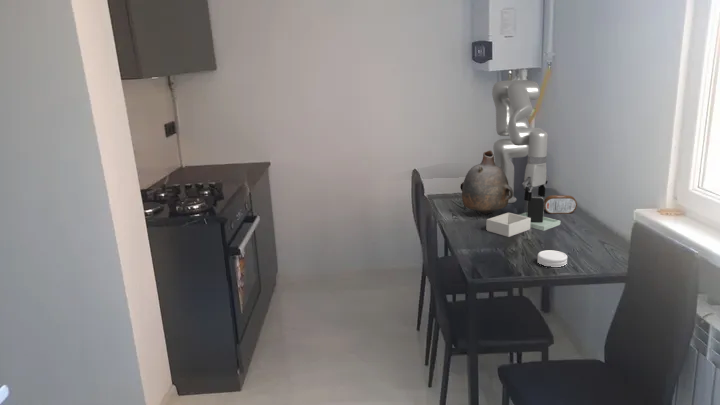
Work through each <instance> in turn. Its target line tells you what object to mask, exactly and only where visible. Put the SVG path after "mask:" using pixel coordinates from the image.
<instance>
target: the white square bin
mask: <svg viewBox="0 0 720 405" xmlns="http://www.w3.org/2000/svg"><path fill="white" fill-rule="evenodd" d="M530 223H531V218H529V217H525V216H521V215H519V214H516V213H512V212H506V213H502V214H500V215H496V216H493V217H490V218H487V219H486V225H485V226H486V228H485V229H486V230H487V231H486V230H485V231H486V232H490V233H493V234H497V235H500V236H504V237H508V238H510V237H513V236H514V235H518V234H522V233H524V232H526V231H529V230H531V227H530Z"/></svg>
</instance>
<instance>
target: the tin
mask: <svg viewBox="0 0 720 405" xmlns="http://www.w3.org/2000/svg"><path fill="white" fill-rule="evenodd" d="M577 208H578V202H577V200H576V199H575V197H574V196H572V195H566V194H565V195H555V194H554V195H548V196H547V197H544V211H546V212H547V213H548V214H554V215H555V214H557V215H559V214H560V215H561V214H564V215H565V214H566V215H567V214H573V212H575V211H576V210H577Z"/></svg>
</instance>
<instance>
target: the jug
mask: <svg viewBox="0 0 720 405" xmlns="http://www.w3.org/2000/svg"><path fill="white" fill-rule="evenodd" d="M482 155H483V156H482V160H481V162H480V163H478V164H475V165H473V166H472V167H471V168H470V169H469V170H468V172H467V173H466V175H465V178H464V179H463V182H461V183H460V191H461V199H462V204H463V205H464V207H465V208H466V209H469V210H473V211H477V212H479V213H482V214H483V215H486V214H490V213H492V212H493V211H497V210H501V209H504V208H506V207H507V206H508V204H509V203H508V200H509V199H511V198H512V197H514V191H513V190H512V188H511V187H510V186H509V184H508V179H507V177H506V175H505V173H504V171H503V170H502V169H501V168H500V167H498V166H496V165H495V158H494V151H492V150H487V151H484V152H483V154H482ZM509 191H510V196H509Z"/></svg>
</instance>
